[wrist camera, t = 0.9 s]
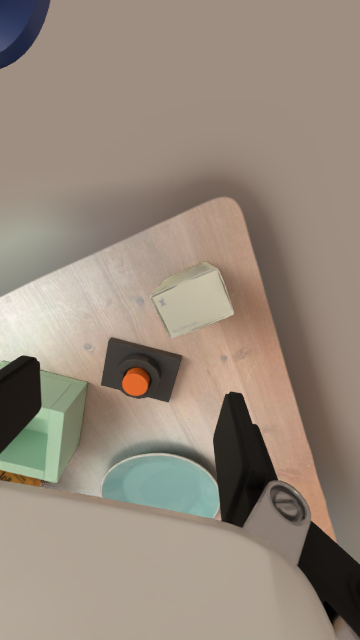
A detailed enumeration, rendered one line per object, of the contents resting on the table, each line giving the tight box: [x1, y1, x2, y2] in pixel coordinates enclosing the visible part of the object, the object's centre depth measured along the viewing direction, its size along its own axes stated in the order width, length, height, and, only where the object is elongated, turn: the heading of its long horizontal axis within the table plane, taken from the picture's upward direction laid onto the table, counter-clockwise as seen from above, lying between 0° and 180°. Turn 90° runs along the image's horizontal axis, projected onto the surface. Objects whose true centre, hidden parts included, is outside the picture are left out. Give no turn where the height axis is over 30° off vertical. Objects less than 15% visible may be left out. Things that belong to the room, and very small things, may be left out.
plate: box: [100, 453, 220, 519], centre depth 41 cm, size 22×22×3 cm
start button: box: [122, 367, 150, 396], centre depth 31 cm, size 4×4×2 cm
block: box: [101, 337, 182, 402], centre depth 33 cm, size 11×8×3 cm
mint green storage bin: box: [0, 361, 88, 483], centre depth 35 cm, size 14×14×7 cm
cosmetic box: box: [150, 262, 234, 338], centre depth 24 cm, size 6×4×12 cm
